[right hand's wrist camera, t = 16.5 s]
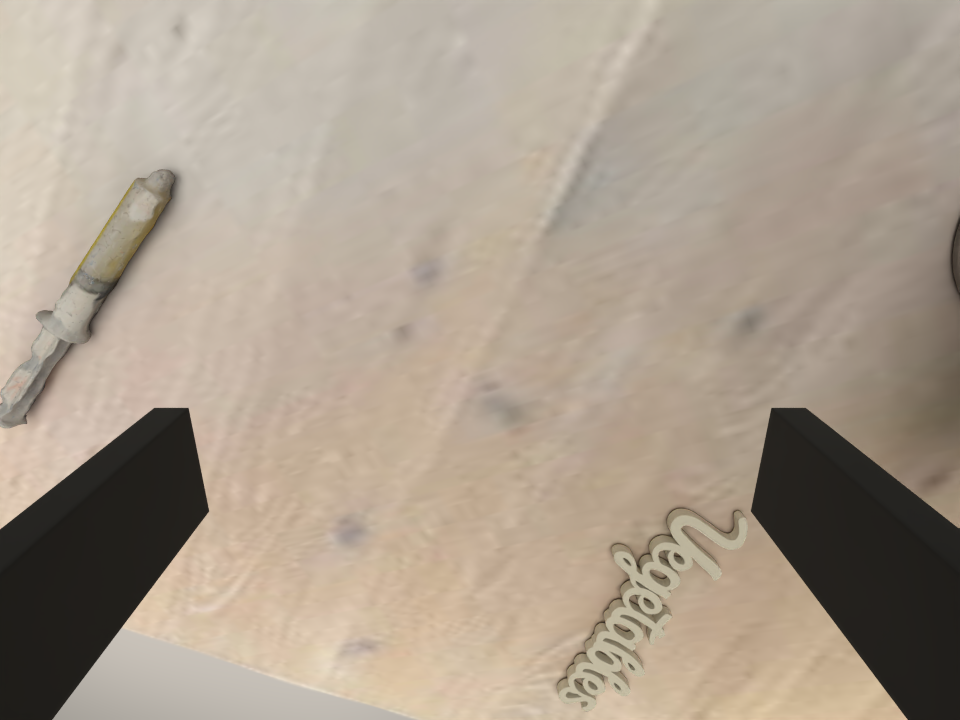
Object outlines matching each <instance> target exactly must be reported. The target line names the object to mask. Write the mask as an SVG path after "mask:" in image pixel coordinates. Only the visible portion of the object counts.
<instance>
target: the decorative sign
mask: <svg viewBox="0 0 960 720" xmlns="http://www.w3.org/2000/svg"><path fill="white" fill-rule="evenodd" d="M734 523H735V525H734V529H733V531H732V532H731V533H728V534H727V533H723V532H721V531H720V530H718V529H717V528H715V527H714V526H713V525H711V524H710V523H709V522H707V521H706V520H704V519H703V518H702V517H700V516H699V515H697V514H696V513H694V512H692V511H690V510H687V509H676V510H674V511H672V512H671V513H670V514H669V516H668V518H667V525H668V528H669V530H670V532H671V534H672V536H673V537H670V536H665V535H660V536H657V537H655V538H654V539H653V540H652V541H651V542H650V544H649V551H650V553H651V555H644V556H643V557H641V559H640V561H639V566H640V568H639V567H637V566H636V562H635V559H634V557H633V554H632V552H631V551H630V549H629V548H628V547H626V546H624V545H621V544H616V545H614V546H613V547H612V554H613V557H614V560H615V562H616V563H617V565H619V566H620V567H621V568H622V569H623V570H624V571H625V572H626V573H628V575H629V578H630V580H629V581H627V582H625V583H624V584H623V585H622V586H621V589H620V593H621V596H622V599H623V600H622V599H617V600H614V601H613V602H612V603H611V604H610V606H609V609H607V610H606V611H605V612H604V620H605V623H600V624H598V625H597V626H596V627H595V631H594V634H593V635H592V638H591V639H589V640H587V641H586V642H585V648H586V653H587V654H579V655H577V656H576V657H575V659H574V664H573V665H571V666H570V667H569V668H568V670H567V679H563V680H561V681H560V682H559V683H558V686H557V689H558V696H559V699H560V700H561V701H562V702H563V703H566V704H572V703H577V702H581V706H582V710H583V711H591V710H592V709H594V708H595V706H596V699H595V695H600V694H603V693H604V692H605V684H604V680H603V676H602V675H604V676H606V677H607V678H608V681H609V684H610V685H611V687H612V688H613V689H614V690H615V691H616V692H617V693H618V694H619V695H621V696H627V695H629V694H630V688H629V684H628V681H627V679H626V678H625V677H624V675H623V674H622V673H621V672H620V670H621V668H622V665H621V661H620V657H619V656H621V658H622V661H623V664H624V665H625V667H626V668H627V669H628V670H629V671H630V672H631V673H632V674H634V675H635V676H638V677H641V676H643V675H644V674H645V672H644V668H643V665H642V662H641V660H640V659H639V658H638V656H637V655H636V654H635V653H634V652H633V650H634V649H635V648H636V645H635V643H637V642H640V641H641V640H642V639H643V636H644V635H643V631H642V628H641V625H640V623H639V622H638V621H640V622H641V623H643V624H645V625H646V626H648V627H647V637H648V640H649V643H650V644H651V645H653V644H654V640H655V638H656V636H658V637H659V638H662V637H664V636H665V632H664V630H663V626H664V625H665V624H666V623H667V622H668V621H669V620H670V619H671V618H672V614H671V612H670V609H669V608H667V607H665V606H662V603H661V600H660V598H659V595H660V596H661V597H663V598H665V599H668V597H669V596H670V595H671V592H670V590H673V589H675V588H677V587H678V586H679V584H680V577H679V575H678V573H677V571H686V570H688V569H690V568H691V567H692V565H693V560H692V558H693V559H694V560H695V561H696V562H697V563H698V564H699V565H700V566H701V567H702V568H703V569H704V570H705V571H707V572H708V573H709V574H710V575H711V577H712V578H713V580H714V581H716V580H718V579H719V578H720V577H721V574H722V572H721V569H720V568H719V566H718V564H717V562H716V561H715V560H714V559H713V558H712V557H711V556H710V555H709V554H708V553H707V552H706V551H704V550H703V549H702V548H701V547H700V546H698V545H697V544H696V543H695V542H694V541H693V540H692V539H691V538H690V537H689V536H688V535H687V534H686V533H685V532H684V531H683V530H682V529H681V528H682V527H683V526H686V525H687V526H691V527H693V528H695V529H696V530H698V531H700V532H701V533H702V534H704V535H705V536H706V537H708V538H709V539H710V540H712V541H713V542H715V543H716V544H718V545H719V546H721V547H723V548H725V549H728V550H735V549H738V548H740V547H741V546H742V545H743V543H744V541H745V539H746V536H747V529H748V526H747V520H746V518H745V516H744V515H743V514H742V512H741V511H736V512H734ZM662 550H665V554H666V556H667V558H668V561H669V562H667V561H666V560H664V559H662V558H660V557H658V554H659V552H660V551H662ZM675 552H676V553H678V554H679V555H680V556H681V557H675V556H674V553H675ZM651 569H653V570H658V571H660V572H662V573H664V574H665V575H666V576H667V578H665V579H660V578H658V577H656V576H654V575H653V574H652V573H651V572H650V570H651ZM676 570H677V571H676ZM632 595H636V598H637V601H638V603H639V606H638V605H636V604H634V603H632V602H631V601H630V600H629V598H630V596H632ZM644 597H646V598H648V599H649V600H650V601H646V600H644ZM651 614H654V615H653V616H652V615H651ZM614 624H621V625H624V626H626V627H627V628H629V629H630V630H631V631H629V632H625V631H622V630H621V629H619V628H618V627H616V626H615V625H614ZM599 651H602V652H604V653H605V654H606V655H608V656H606V655H604V654H602V653H600V652H599ZM601 674H602V675H601ZM576 678H582V683H583V686H582V685H580V684H578V683H577V682H576V681H575V679H576Z"/></svg>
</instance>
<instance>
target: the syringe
mask: <svg viewBox="0 0 960 720" xmlns="http://www.w3.org/2000/svg"><path fill="white" fill-rule="evenodd" d="M174 181H175V176H174V174H173V173H172V172H171V171H169V170H163V169H161V170H158V171H155V172H153V173H152V174H151V175H150V176H149V178H137V179H136V180H134V182H133V183H132V185H131V186H130V188H129V189H128V191H127V192H126V194H125V195H124V197H123V199H122V200H121V201H120V203H119V205H118V206H117V208H116V209H115V211H114V212H113V214H112V216H111V217H110V219H109V220H108V222H107V224H106V225H105V226H104V228H103V230H102V231H101V233H100V234H99V236H98V238H97V239H96V241H95V242H94V244H93V245H92V247H91V248H90V250H89V251H88V253H87V254H86V256H85V257H84V259H83V261H82V262H81V264H80V265H79V267H78V268H77V270H76V271H75V273H74V274H73V276H72V277H71V280H70V283H69V286H68V287H67V289H66V290H65V291H64V292H63V294H62V296H61V298H60V299H59V300H58V301H57V302H56V304H55V309H54V311H47V310H43V311H40V312H38V313H37V314H36V318H37V320H38V321H39V322H40V323H41V324H42V325H43V328H42V330H41V333H40V334H39V336H38V337H37V338H36V340H35V341H34V342H33V345H32V347H31V351H32V358H31V359H30V360H29V361H27V362H25V363H23V364H22V365H20V366H19V367H18V368H17V369H16V370H15V371H14V373H13V374H12V375H11V377H10V378H9V380H8V381H7V383H6V385H5V386H4V388H3V389H2V390H1V392H0V396H1V397H2V400H3V403H1V404H0V427H2V428H11V427H14V426H17V425H20V424H27V420H26V416H27V415H25V414H26V413H27V412H28V411H29V409H30V407H31V406H32V404H33V403H34V402H35V398H36V396H37V395H38V394H40V393H41V392H42V391H43V389H44V387H45V381H46V379H47V377H48V376H49V374H50V372H51V370H52V369H53V367H54V366H55V365H56V363H57V362H58V361H59V360H60V359H61V358H62V357H63V356H64V355H65V353H66V352H67V350H68V349H69V347H70V346H71V344H72V343H75V344H82V343H86V342H87V341H88V340H89V339H90V337H91V332H90V330H89V324H90V322H91V320H92V319H93V317H94V316H95V315H96V314H97V312H98V310H99V308H100V307H101V305H102V304H103V302H104V301H105V299H106V297H107V295H108V294H109V293H110V292H111V291H112V290H113V288H114V287H115V286H116V284H117V282H118V280H119V278H120V276H121V274H122V272H123V271H124V269H125V267H126V265H127V264H128V262H129V260H130V259H131V258H132V256H133V255H134V253H135V252H136V250H137V249H138V247H139V245H140V244H141V242H142V241H143V240H144V238H145V237H146V235H147V234H148V233H149V232H150V231H151V230H152V228H153V227H154V225H155V223H156V221H157V219H158V217H159V215H160V214H161V212H162V211H163V209H164V207H165V205H166V204H167V203H168V202H169V201H170V200H171V198H172V197H171V196H170V189H171V187H172V185H173V183H174Z"/></svg>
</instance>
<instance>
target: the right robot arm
mask: <svg viewBox="0 0 960 720" xmlns="http://www.w3.org/2000/svg"><path fill="white" fill-rule="evenodd" d="M953 272H954V278H955V282H956V285H957V288H958V290H959V293H960V224H959V226H958V229H957V233H956V237H955V241H954V248H953ZM208 512H209V508H208V503H207V498H206V493H205V488H204V483H203V478H202V473H201V468H200V463H199V458H198V453H197V448H196V443H195V438H194V433H193V428H192V423H191V418H190V413H189V408H154V409H152V410H151V411H150V412H149V413H147V414H146V415H145V416H144V417H142V418H141V419H140V420H139V421H137V422H136V423H135V424H133V425H132V426H131V427H130V428H128V429H127V430H126V431H125V432H123V433H122V434H121V435H120V436H118V437H117V438H116V439H114V440H113V441H112V442H111V443H109V444H108V445H107V446H106V447H104V448H103V449H102V450H100V451H99V452H98V453H97V454H95V455H94V456H93V457H92V458H90V459H89V460H88V461H87V462H85V463H84V464H83V465H81V466H80V467H79V468H78V469H76V470H75V471H74V472H73V473H71V474H70V475H69V476H67V477H66V478H65V479H64V480H62V481H61V482H60V483H59V484H57V485H56V486H55V487H54V488H52V489H51V490H50V491H48V492H47V493H46V494H45V495H43V496H42V497H41V498H40V499H38V500H37V501H36V502H34V503H33V504H32V505H31V506H29V507H28V508H27V509H26V510H24V511H23V512H22V513H21V514H19V515H18V516H17V517H15V518H14V519H13V520H12V521H10V522H9V523H8V524H7V525H5V526H4V527H3V528H1V529H0V720H52V719H53V718H54V717H55V715H56V714H57V713H58V711H59V710H60V709H61V707H62V706H63V705H64V703H65V702H66V700H67V699H68V698H69V697H70V695H71V694H72V693H73V691H74V690H75V689H76V687H77V686H78V685H79V683H80V682H81V681H82V679H83V678H84V677H85V675H86V674H87V673H88V671H89V670H90V669H91V667H92V666H93V665H94V663H95V662H96V661H97V659H98V658H99V657H100V655H101V654H102V653H103V651H104V650H105V649H106V647H107V646H108V645H109V644H110V642H111V641H112V639H113V638H114V637H115V636H116V634H117V633H118V632H119V630H120V629H121V628H122V626H123V625H124V624H125V622H126V621H127V620H128V618H129V617H130V616H131V614H132V613H133V612H134V610H135V609H136V608H137V606H138V605H139V604H140V602H141V601H142V600H143V598H144V597H145V596H146V594H147V593H148V592H149V590H150V589H151V588H152V586H153V585H154V584H155V582H156V581H157V580H158V578H159V577H160V576H161V574H162V573H163V572H164V570H165V569H166V568H167V566H168V565H169V564H170V563H171V561H172V560H173V559H174V557H175V556H176V555H177V553H178V552H179V551H180V549H181V548H182V547H183V545H184V544H185V543H186V541H187V540H188V539H189V537H190V536H191V535H192V533H193V532H194V531H195V529H196V528H197V527H198V525H199V524H200V523H201V521H202V520H203V519H204V517H205V516H206V515H207V513H208ZM751 512H752V513H753V515H754V516H755V517H756V519H757V520H758V521H759V523H760V524H761V525H762V527H763V528H764V529H765V531H766V532H767V533H768V535H769V536H770V537H771V539H772V540H773V541H774V543H775V544H776V545H777V547H778V548H779V549H780V551H781V552H782V553H783V555H784V556H785V557H786V559H787V560H788V561H789V563H790V564H791V565H792V566H793V568H794V569H795V570H796V572H797V573H798V574H799V576H800V577H801V578H802V580H803V581H804V582H805V584H806V585H807V586H808V588H809V589H810V590H811V592H812V593H813V594H814V596H815V597H816V598H817V600H818V601H819V602H820V604H821V605H822V606H823V608H824V609H825V610H826V612H827V613H828V614H829V616H830V617H831V618H832V620H833V621H834V622H835V624H836V625H837V626H838V628H839V629H840V630H841V632H842V633H843V634H844V636H845V637H846V638H847V640H848V641H849V642H850V644H851V645H852V646H853V648H854V649H855V650H856V651H857V653H858V654H859V655H860V657H861V658H862V659H863V661H864V662H865V663H866V665H867V666H868V667H869V669H870V670H871V671H872V673H873V674H874V675H875V677H876V678H877V679H878V681H879V682H880V683H881V685H882V686H883V687H884V689H885V690H886V691H887V693H888V694H889V695H890V697H891V698H892V699H893V701H894V702H895V703H896V705H897V706H898V707H899V709H900V710H901V711H902V713H903V714H904V715H905V717H906V718H907V719H908V720H960V528H957V527H956V526H955V525H953V524H952V523H951V522H950V521H948V520H947V519H946V518H945V517H943V516H942V515H941V514H939V513H938V512H937V511H936V510H934V509H933V508H932V507H931V506H929V505H928V504H927V503H926V502H924V501H923V500H922V499H920V498H919V497H918V496H917V495H915V494H914V493H913V492H912V491H910V490H909V489H908V488H906V487H905V486H904V485H903V484H901V483H900V482H899V481H898V480H896V479H895V478H894V477H893V476H891V475H890V474H889V473H887V472H886V471H885V470H884V469H882V468H881V467H880V466H879V465H877V464H876V463H875V462H873V461H872V460H871V459H870V458H868V457H867V456H866V455H865V454H863V453H862V452H861V451H860V450H858V449H857V448H856V447H854V446H853V445H852V444H851V443H849V442H848V441H847V440H846V439H844V438H843V437H842V436H840V435H839V434H838V433H837V432H835V431H834V430H833V429H832V428H830V427H829V426H828V425H827V424H825V423H824V422H823V421H821V420H820V419H819V418H818V417H816V416H815V415H814V414H813V413H811V412H810V411H809V410H808V409H806V408H771V413H770V418H769V423H768V428H767V433H766V438H765V443H764V448H763V453H762V458H761V463H760V468H759V473H758V478H757V483H756V488H755V493H754V498H753V503H752V508H751Z"/></svg>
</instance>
